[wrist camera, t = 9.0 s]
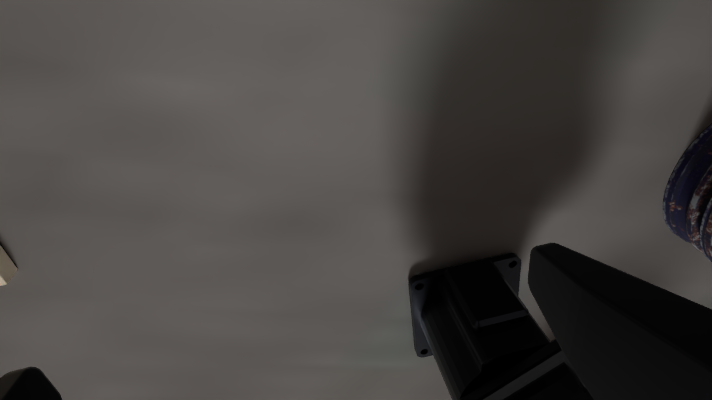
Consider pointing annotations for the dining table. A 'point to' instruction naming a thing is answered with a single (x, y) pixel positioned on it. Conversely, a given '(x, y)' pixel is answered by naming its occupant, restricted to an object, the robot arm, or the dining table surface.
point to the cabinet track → (6, 268)
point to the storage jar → (692, 195)
